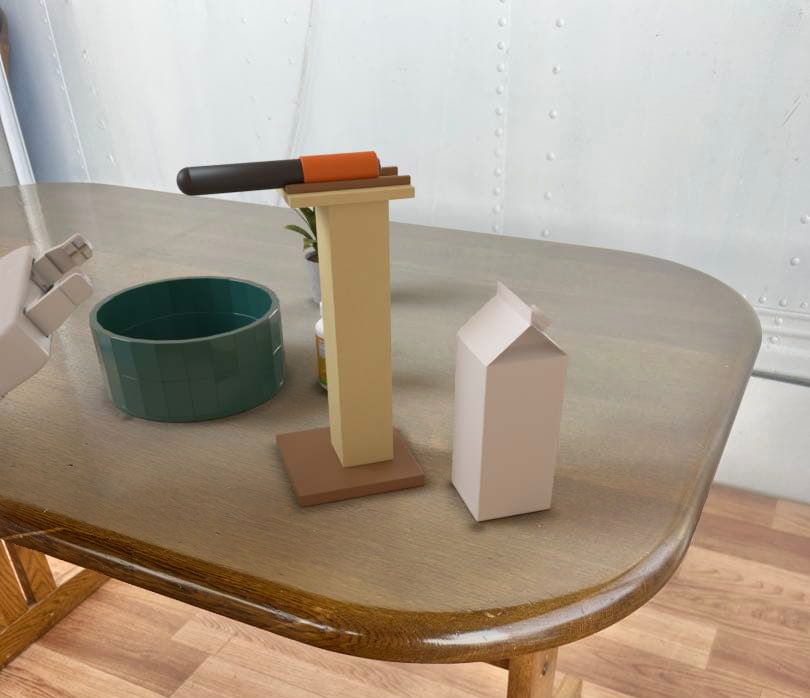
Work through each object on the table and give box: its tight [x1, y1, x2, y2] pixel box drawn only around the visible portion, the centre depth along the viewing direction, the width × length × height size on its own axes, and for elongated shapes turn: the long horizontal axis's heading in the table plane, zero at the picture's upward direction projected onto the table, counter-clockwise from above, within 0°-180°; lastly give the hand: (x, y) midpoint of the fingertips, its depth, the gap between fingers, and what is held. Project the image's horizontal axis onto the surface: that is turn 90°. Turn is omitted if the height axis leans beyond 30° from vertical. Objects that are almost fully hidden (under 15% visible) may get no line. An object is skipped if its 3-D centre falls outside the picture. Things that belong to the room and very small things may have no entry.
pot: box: [88, 275, 287, 423], centre depth 93 cm, size 21×21×9 cm
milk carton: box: [451, 281, 569, 522], centre depth 70 cm, size 7×7×19 cm
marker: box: [175, 150, 383, 197], centre depth 63 cm, size 16×2×2 cm, turn 108°
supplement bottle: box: [314, 301, 328, 391], centre depth 92 cm, size 5×5×10 cm
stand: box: [275, 165, 425, 508], centre depth 72 cm, size 12×12×27 cm
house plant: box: [283, 207, 321, 306], centre depth 111 cm, size 14×14×16 cm
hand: (87, 259), depth 62 cm, fingers open, 8 cm apart
